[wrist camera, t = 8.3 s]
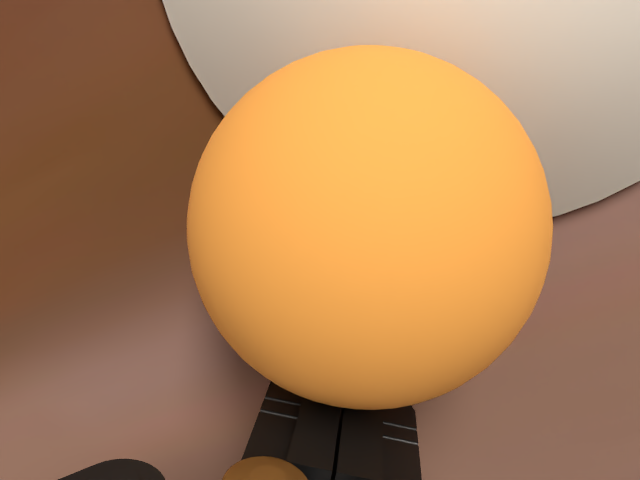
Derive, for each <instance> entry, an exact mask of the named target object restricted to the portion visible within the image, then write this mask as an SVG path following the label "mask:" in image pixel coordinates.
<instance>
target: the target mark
mask: <svg viewBox="0 0 640 480" xmlns="http://www.w3.org/2000/svg"><path fill="white" fill-rule="evenodd" d="M162 1H163V4H164V7H165V10H166V13H167V16H168V19H169V21H170V24H171V27H172V29H173V32H174V34H175V36H176V38H177V40H178V42H179V44H180V46H181V48H182V50H183V53H184V55H185V57H186V59H187V61H188V63H189V65H190V67H191V68H192V70H193V72H194V73H195V75H196V76H197V78H198V80H199V81H200V83H201V84H202V86H203V87H204V89H205V91H206V92H207V94H208V95H209V97H210V99H211V100H212V101H213V103H214V104H215V105H216V106H217V108H218V109H219V110H220V111H221V113H222V114H223V115H224V116H226V114H227V113H228V112H229V111H230V109H231V108H232V107H233V106H234V105H235V104H236V103H237V102H238V101H239V100H240V99H241V98H242V97H243V96H244V95H245V94H246V93H247V92H248V91H249V90H251V89H252V88H253V87H254V86H256V85H257V84H258V83H260V82H261V81H262V80H263V79H265V78H266V77H267V76H269V75H270V74H272V73H274V72H276V71H277V70H279V69H281V68H283V67H285V66H286V65H288V64H290V63H292V62H294V61H296V60H299V59H302V58H304V57H307V56H310V55H313V54H315V53H318V52H321V51H325V50H331V49H336V48H342V47H347V46H355V45H382V46H393V47H400V48H406V49H411V50H415V51H419V52H423V53H426V54H428V55H431V56H433V57H436V58H439V59H441V60H444V61H446V62H449V63H451V64H453V65H455V66H456V67H458V68H460V69H461V70H463V71H465V72H466V73H468V74H469V75H471V76H473V77H474V78H476V79H477V80H479V81H480V82H481V83H483V84H484V85H485V86H486V87H487V88H488V89H490V90H491V91H492V92H493V93H494V94H495V95H496V96H498V97H499V98H500V99H501V100H502V101H503V103H504V104H505V105H506V106H507V107H508V108H509V110H510V111H511V112H512V113H513V114H514V116H515V117H516V118H517V119H518V120H519V122H520V124H521V125H522V127H523V129H524V130H525V132H526V134H527V135H528V137H529V139H530V140H531V142H532V144H533V146H534V147H535V149H536V152H537V154H538V157H539V159H540V162H541V164H542V167H543V169H544V173H545V177H546V181H547V185H548V190H549V194H550V199H551V203H552V217H554V216H558V215H561V214H564V213H567V212H570V211H572V210H575V209H578V208H581V207H583V206H586V205H589V204H592V203H595V202H597V201H600V200H602V199H604V198H606V197H608V196H610V195H612V194H614V193H616V192H618V191H620V190H622V189H624V188H626V187H628V186H630V185H632V184H634V183H636V182H638V181H640V0H162Z"/></svg>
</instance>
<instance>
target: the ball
mask: <svg viewBox="0 0 640 480" xmlns="http://www.w3.org/2000/svg"><path fill="white" fill-rule="evenodd" d="M552 234H553V218H552V203H551V199H550V194H549V190H548V185H547V181H546V177H545V173H544V169H543V167H542V164H541V162H540V159H539V157H538V154H537V152H536V149H535V147H534V146H533V144H532V142H531V140H530V139H529V137H528V135H527V134H526V132H525V130H524V129H523V127H522V125H521V124H520V122H519V120H518V119H517V118H516V117H515V116H514V114H513V113H512V112H511V111H510V110H509V108H508V107H507V106H506V105H505V104H504V103H503V101H502V100H501V99H500V98H499V97H498V96H496V95H495V94H494V93H493V92H492V91H491V90H490V89H488V88H487V87H486V86H485V85H484V84H483V83H481V82H480V81H479V80H477V79H476V78H474V77H473V76H471V75H469V74H468V73H466V72H465V71H463V70H461V69H460V68H458V67H456V66H455V65H453V64H451V63H449V62H446V61H444V60H441V59H439V58H436V57H433V56H431V55H428V54H426V53H423V52H419V51H415V50H411V49H406V48H400V47H393V46H382V45H355V46H347V47H342V48H336V49H331V50H325V51H321V52H318V53H315V54H313V55H310V56H307V57H304V58H302V59H299V60H296V61H294V62H292V63H290V64H288V65H286V66H285V67H283V68H281V69H279V70H277V71H276V72H274V73H272V74H270V75H269V76H267V77H266V78H265V79H263V80H262V81H261V82H260V83H258V84H257V85H256V86H254V87H253V88H252V89H251V90H249V91H248V92H247V93H246V94H245V95H244V96H243V97H242V98H241V99H240V100H239V101H238V102H237V103H236V104H235V105H234V106H233V107H232V108H231V109H230V111H229V112H228V113H227V114H226V116H225V117H224V118H223V120H222V121H221V123H220V124H219V126H218V127H217V128H216V130H215V131H214V133H213V134H212V136H211V138H210V140H209V142H208V144H207V146H206V148H205V150H204V152H203V154H202V157H201V159H200V161H199V164H198V167H197V170H196V173H195V176H194V179H193V182H192V186H191V193H190V199H189V205H188V213H187V242H188V250H189V256H190V262H191V269H192V273H193V276H194V279H195V282H196V285H197V288H198V291H199V294H200V296H201V299H202V302H203V304H204V306H205V308H206V310H207V312H208V313H209V315H210V317H211V319H212V321H213V322H214V324H215V326H216V327H217V329H218V330H219V332H220V334H221V335H222V336H223V337H224V338H225V340H226V341H227V342H228V343H229V344H230V346H231V347H232V348H233V349H234V350H235V351H236V352H237V354H238V355H239V356H240V357H241V358H242V359H243V360H244V361H245V362H247V363H248V364H249V365H250V366H251V367H253V368H254V369H255V370H256V371H258V372H259V373H260V374H262V375H263V376H264V377H266V378H267V379H269V380H270V381H272V382H273V383H275V384H276V385H278V386H279V387H281V388H283V389H285V390H287V391H290V392H292V393H294V394H296V395H298V396H301V397H304V398H306V399H309V400H312V401H315V402H319V403H323V404H327V405H331V406H335V407H342V408H350V409H364V410H380V409H393V408H399V407H404V406H410V405H414V404H417V403H420V402H424V401H427V400H430V399H433V398H435V397H438V396H441V395H443V394H445V393H447V392H449V391H452V390H454V389H456V388H458V387H459V386H461V385H462V384H464V383H465V382H467V381H468V380H470V379H471V378H473V377H474V376H476V375H477V374H479V373H480V372H482V371H483V370H485V369H486V368H487V367H488V366H489V365H490V364H491V363H492V362H493V361H494V360H495V359H496V358H497V357H498V356H499V355H500V354H501V353H502V352H503V351H504V350H505V349H506V348H507V347H508V346H509V345H510V344H511V343H512V342H513V340H514V339H515V337H516V336H517V334H518V333H519V331H520V330H521V328H522V327H523V325H524V324H525V322H526V321H527V319H528V318H529V316H530V315H531V313H532V311H533V309H534V306H535V304H536V302H537V300H538V298H539V295H540V293H541V290H542V287H543V284H544V282H545V278H546V274H547V270H548V266H549V263H550V256H551V245H552Z"/></svg>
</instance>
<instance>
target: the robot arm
mask: <svg viewBox="0 0 640 480" xmlns="http://www.w3.org/2000/svg"><path fill="white" fill-rule="evenodd" d="M416 429H417V426H416V415H415V410H414V409H413V407H412V406H411V405H410V406H404V407H399V408H393V409H380V410H364V409H350V408H342V407H335V406H331V405H327V404H323V403H319V402H315V401H312V400H309V399H306V398H304V397H301V396H298V395H296V394H294V393H292V392H290V391H287V390H285V389H283V388H281V387H279V386H278V385H276V384H275V383H273V382H272V381H271V382H270V385H269V388H268V390H267V393H266V396H265V399H264V401H263V404H262V406H261V409H260V412H259V414H258V417H257V420H256V422H255V425H254V428H253V430H252V433H251V436H250V438H249V441H248V444H247V446H246V449H245V452H244V454H243V457H242V460H241V461H239V462H237V463H236V464H234V465H233V466H231V467H230V468H229V469H228V470H227V472H226V473H225V475H224V477H223V478H222V480H422V479H421V468H420V458H419V447H418V437H417V431H416ZM58 480H165V478H164V477H163V475H162V474H161V472H160V471H158V470H157V469H156V468H155V467H153V466H152V465H150V464H148V463H145V462H142V461H138V460H133V459H115V460H109V461H104V462H101V463H98V464H96V465H93V466H91V467H88V468H86V469H83V470H81V471H78V472H76V473H73V474H71V475H68V476H66V477H63V478H61V479H58Z"/></svg>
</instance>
